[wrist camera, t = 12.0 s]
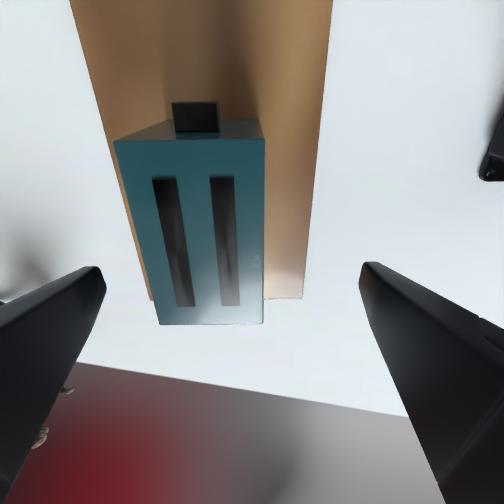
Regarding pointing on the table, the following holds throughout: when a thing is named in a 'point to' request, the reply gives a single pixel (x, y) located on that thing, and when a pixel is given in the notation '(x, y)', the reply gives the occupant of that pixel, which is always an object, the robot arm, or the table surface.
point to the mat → (221, 93)
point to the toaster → (199, 213)
